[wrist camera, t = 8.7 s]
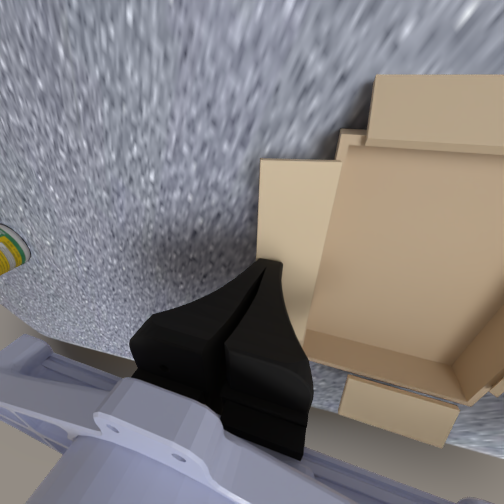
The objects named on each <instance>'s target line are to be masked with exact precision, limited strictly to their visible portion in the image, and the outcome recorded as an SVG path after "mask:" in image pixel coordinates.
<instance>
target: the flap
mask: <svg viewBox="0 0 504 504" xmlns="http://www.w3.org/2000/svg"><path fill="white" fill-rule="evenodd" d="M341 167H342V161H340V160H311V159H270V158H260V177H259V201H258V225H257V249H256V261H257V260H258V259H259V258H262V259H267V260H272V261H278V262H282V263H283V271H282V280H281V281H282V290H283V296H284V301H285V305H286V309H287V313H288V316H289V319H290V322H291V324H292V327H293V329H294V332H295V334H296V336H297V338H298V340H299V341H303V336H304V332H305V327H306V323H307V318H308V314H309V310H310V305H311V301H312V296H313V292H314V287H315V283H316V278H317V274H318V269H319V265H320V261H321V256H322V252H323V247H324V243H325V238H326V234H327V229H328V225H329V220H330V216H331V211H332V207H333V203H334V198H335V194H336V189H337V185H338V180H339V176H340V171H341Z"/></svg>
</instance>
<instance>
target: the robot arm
mask: <svg viewBox="0 0 504 504" xmlns="http://www.w3.org/2000/svg"><path fill="white" fill-rule="evenodd" d="M282 271H283V263H282V262H278V261H272V260H267V259H262V258H259V259H258V260H257V261H256V262H254V263H253V264H252V265H251V266H250V267H249V268H247V269H246V270H245V271H244V272H242V273H241V274H240V275H239V276H237V277H236V278H235V279H233V280H232V281H230V282H229V283H227V284H226V285H224V286H223V287H221V288H220V289H218V290H216V291H214V292H213V293H211V294H209V295H207V296H204V297H202V298H200V299H198V300H196V301H193V302H191V303H188V304H186V305H183V306H180V307H177V308H174V309H170V310H167V311H163V312H160V313H156V314H153V315H152V316H151V317H150V318H149V319H148V320H147V321H146V322H145V323H144V324H143V325H142V326H141V328H140V329H139V330H138V331H137V332H136V333H135V335H134V336H133V337H132V338H131V339H130V343H129V346H130V350H131V353H132V355H133V358H134V360H135V362H136V365H137V367H138V369H137V370H136V371H135V373H134V374H133V375H132V377H131V378H130V377H127V378H124V379H122V378H120V377H117V376H114V375H111V374H109V373H106V372H104V371H101V370H98V369H96V368H93V367H90V366H88V365H85V364H82V363H80V362H77V361H74V360H72V359H69V358H66V357H64V356H61V355H58V354H55V353H53V350H52V349H51V347H50V346H49V345H48V344H47V343H46V342H45V341H43V340H41V339H38V338H36V337H33V336H30V335H27V334H23V335H22V336H20V337H19V338H18V339H16V340H15V341H14V342H12V343H11V344H9V345H8V346H7V347H5V348H4V349H2V350H1V351H0V420H1V421H3V422H5V423H7V424H9V425H10V426H12V427H14V428H16V429H18V430H20V431H22V432H24V433H25V434H27V435H29V436H31V437H32V438H34V439H36V440H38V441H40V442H41V443H43V444H45V445H47V446H48V447H50V448H52V449H54V450H55V451H57V452H59V453H61V454H62V455H63V456H62V457H61V458H60V460H59V461H58V462H57V463H56V465H55V466H54V467H53V469H52V470H51V471H50V472H49V474H48V475H47V476H46V477H45V479H44V480H43V481H42V483H41V484H40V485H39V486H38V488H37V489H36V490H35V491H34V493H33V494H32V495H31V497H30V498H29V499H28V501H27V502H26V503H25V504H456V503H454V502H451V501H448V500H446V499H443V498H440V497H438V496H435V495H432V494H430V493H427V492H424V491H421V490H419V489H416V488H414V487H411V486H408V485H406V484H403V483H400V482H398V481H395V480H392V479H389V478H387V477H384V476H382V475H379V474H376V473H374V472H371V471H368V470H366V469H363V468H360V467H358V466H355V465H352V464H350V463H347V462H344V461H342V460H339V459H336V458H333V457H330V456H328V455H325V454H323V453H320V452H317V451H315V450H312V449H309V448H307V447H304V444H305V433H306V427H307V422H308V413H309V409H310V407H311V404H312V401H313V395H314V391H313V380H312V374H311V369H310V365H309V360H308V357H307V356H306V354H305V352H304V350H303V348H302V346H301V345H300V343H299V340H298V338H297V336H296V334H295V332H294V329H293V327H292V324H291V322H290V319H289V316H288V313H287V309H286V305H285V301H284V296H283V290H282V281H281V280H282ZM457 504H494V503H491V502H488V501H485V500H482V499H479V498H474V497H465V498H462V499H461V500H460V501H458V503H457Z"/></svg>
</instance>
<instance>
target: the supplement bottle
mask: <svg viewBox="0 0 504 504" xmlns="http://www.w3.org/2000/svg"><path fill="white" fill-rule="evenodd" d="M29 258H30V251H29V248H28V247H27V245H26V244H25V242H24V241H23V240H22V238H21V237H20V236H19V235H18V234H17V233H15V232H14V231H13V230H11V229H10V228H8V227H6V226H4V225H1V224H0V275H2V274H4V273H6V272H8V271H10V270H12V269H14V268H16V267H18V266H20V265H22V264H23V263H25V262H27V261H28V260H29Z"/></svg>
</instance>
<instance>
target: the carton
mask: <svg viewBox="0 0 504 504" xmlns="http://www.w3.org/2000/svg"><path fill="white" fill-rule="evenodd" d="M334 160H340V161H342V167H341V171H340V176H339V180H338V185H337V189H336V194H335V198H334V203H333V207H332V211H331V216H330V220H329V225H328V229H327V234H326V238H325V243H324V247H323V252H322V256H321V261H320V265H319V269H318V274H317V278H316V283H315V287H314V292H313V296H312V301H311V305H310V310H309V314H308V318H307V323H306V327H305V332H304V336H303V341H299V343H300V345H301V346H302V348H303V350H304V352H305V354H306V356H307V357H308V360H309V361H313V362H316V363H320V364H323V365H327V366H330V367H334V368H337V369H341V370H344V371H348V372H351V373H355V374H358V375H362V376H365V377H369V378H372V379H376V380H379V381H383V382H386V383H390V384H393V385H397V386H400V387H404V388H407V389H411V390H414V391H418V392H421V393H425V394H428V395H432V396H435V397H439V398H442V399H446V400H449V401H453V402H456V403H460V404H463V405H467V406H470V407H471V406H472V405H474V404H475V403H476V402H477V401H478V400H479V399H480V398H481V397H482V396H484V395H485V394H486V393H487V392H488V391H489V390H490V391H489V392H490V393H492V394H493V395H494V396H496V397H499V396H500V395H501V394H502V393H503V392H504V75H376V77H375V80H374V83H373V89H372V97H371V104H370V111H369V118H368V126H367V130H363V129H344V128H341V129H340V133H339V138H338V143H337V148H336V153H335V158H334Z"/></svg>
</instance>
